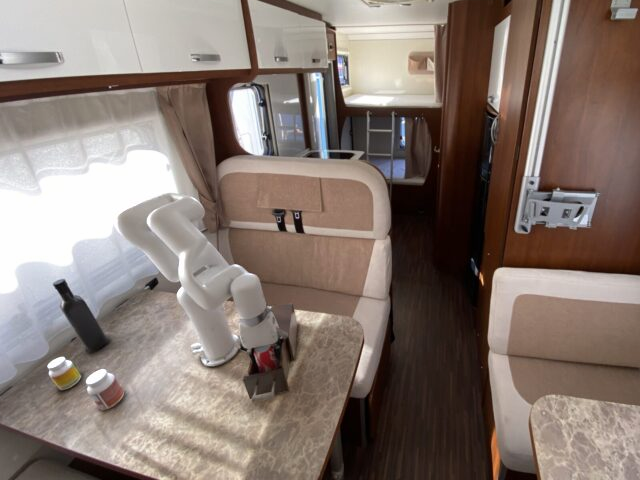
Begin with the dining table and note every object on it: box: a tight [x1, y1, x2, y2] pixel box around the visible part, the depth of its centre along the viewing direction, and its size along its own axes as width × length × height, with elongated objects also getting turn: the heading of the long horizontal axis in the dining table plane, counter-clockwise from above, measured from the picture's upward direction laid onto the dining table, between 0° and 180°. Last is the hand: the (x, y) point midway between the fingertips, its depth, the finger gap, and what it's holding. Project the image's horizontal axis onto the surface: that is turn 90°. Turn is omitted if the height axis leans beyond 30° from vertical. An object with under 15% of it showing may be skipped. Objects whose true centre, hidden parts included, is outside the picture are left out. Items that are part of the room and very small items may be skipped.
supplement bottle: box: [47, 356, 82, 391], centre depth 98 cm, size 5×5×10 cm
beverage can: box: [254, 344, 280, 373], centre depth 94 cm, size 6×6×12 cm
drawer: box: [242, 339, 291, 403], centre depth 94 cm, size 19×11×9 cm, turn 11°
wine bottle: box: [52, 278, 109, 353], centre depth 107 cm, size 6×6×30 cm
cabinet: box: [271, 302, 299, 361], centre depth 107 cm, size 16×13×11 cm
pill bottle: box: [85, 368, 125, 411], centre depth 91 cm, size 6×6×11 cm
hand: (266, 356), depth 94 cm, fingers closed on beverage can, 6 cm apart
